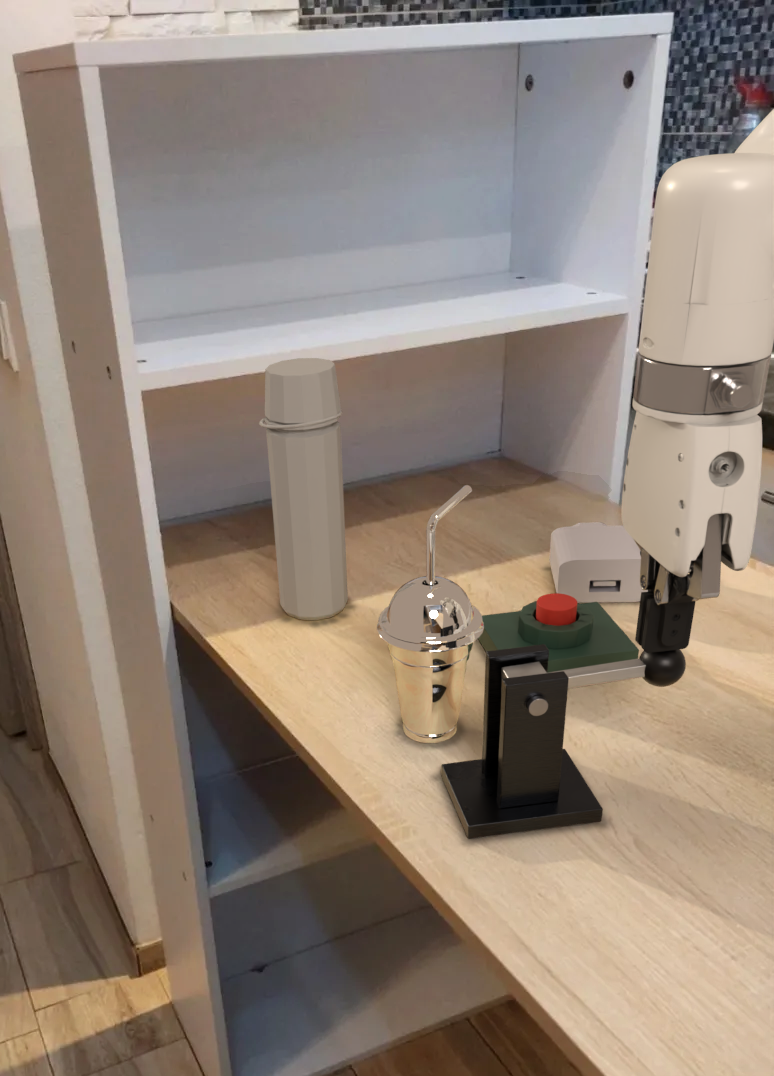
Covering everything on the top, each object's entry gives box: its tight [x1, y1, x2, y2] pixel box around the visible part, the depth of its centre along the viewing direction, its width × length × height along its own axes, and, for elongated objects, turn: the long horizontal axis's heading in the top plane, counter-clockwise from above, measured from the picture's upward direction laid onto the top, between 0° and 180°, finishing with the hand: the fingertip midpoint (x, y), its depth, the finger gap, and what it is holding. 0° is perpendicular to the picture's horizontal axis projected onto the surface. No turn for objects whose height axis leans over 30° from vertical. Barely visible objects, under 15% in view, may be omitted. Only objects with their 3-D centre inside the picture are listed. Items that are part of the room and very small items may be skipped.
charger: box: [548, 521, 648, 604], centre depth 110 cm, size 5×9×15 cm
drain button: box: [536, 592, 577, 626], centre depth 94 cm, size 4×4×2 cm
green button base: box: [477, 600, 640, 673], centre depth 96 cm, size 12×10×4 cm
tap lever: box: [501, 649, 687, 695], centre depth 73 cm, size 13×3×3 cm, turn 96°
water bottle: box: [258, 357, 349, 621], centre depth 103 cm, size 9×8×25 cm
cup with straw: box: [376, 484, 484, 744], centre depth 82 cm, size 8×9×20 cm
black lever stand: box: [440, 644, 604, 840], centre depth 75 cm, size 10×8×12 cm
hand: (661, 645), depth 73 cm, fingers closed
